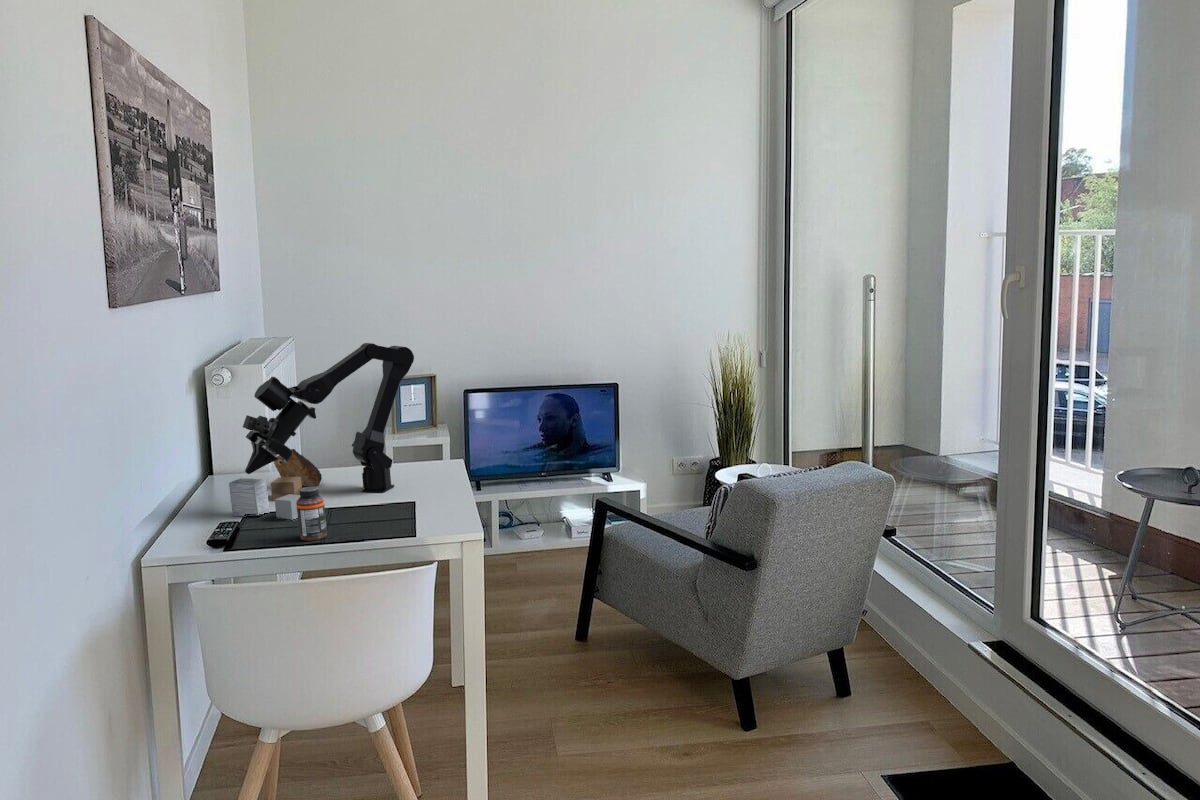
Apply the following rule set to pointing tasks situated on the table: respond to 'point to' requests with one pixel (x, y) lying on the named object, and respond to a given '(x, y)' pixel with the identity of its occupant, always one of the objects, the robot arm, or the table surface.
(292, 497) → the slate-grey block
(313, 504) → the supplement bottle
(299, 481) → the walnut block
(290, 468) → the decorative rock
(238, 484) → the medicine box
